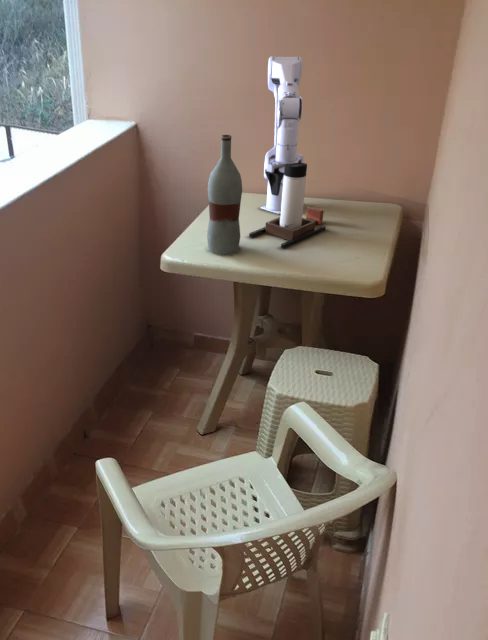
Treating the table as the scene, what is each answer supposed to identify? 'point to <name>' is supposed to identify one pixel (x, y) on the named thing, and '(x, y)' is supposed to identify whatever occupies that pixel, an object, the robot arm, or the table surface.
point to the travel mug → (293, 195)
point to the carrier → (307, 225)
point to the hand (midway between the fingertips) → (283, 192)
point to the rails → (292, 241)
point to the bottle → (224, 203)
